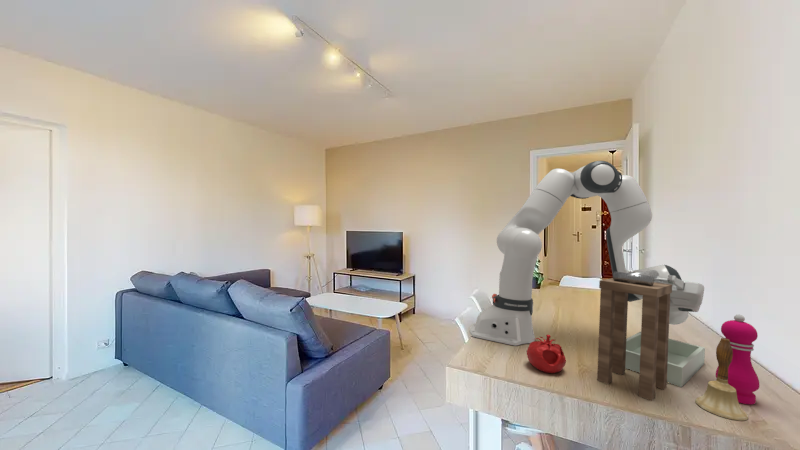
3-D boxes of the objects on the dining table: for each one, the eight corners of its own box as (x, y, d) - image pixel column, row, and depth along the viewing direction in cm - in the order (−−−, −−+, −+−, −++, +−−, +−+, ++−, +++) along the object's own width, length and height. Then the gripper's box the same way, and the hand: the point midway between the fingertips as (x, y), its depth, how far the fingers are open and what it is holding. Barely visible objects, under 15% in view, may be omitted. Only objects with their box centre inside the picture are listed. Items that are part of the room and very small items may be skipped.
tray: (640, 346, 108) (640, 331, 108) (704, 363, 95) (704, 347, 95) (610, 363, 93) (610, 346, 93) (681, 387, 80) (682, 367, 80)
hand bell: (740, 407, 72) (743, 337, 72) (754, 426, 65) (758, 348, 65) (691, 395, 76) (694, 329, 76) (699, 411, 69) (702, 339, 69)
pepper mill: (738, 390, 79) (741, 311, 79) (768, 407, 72) (772, 320, 72) (706, 388, 80) (709, 309, 80) (733, 404, 73) (737, 318, 72)
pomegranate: (518, 363, 91) (520, 331, 91) (543, 358, 95) (545, 327, 95) (547, 379, 82) (549, 343, 82) (574, 373, 86) (575, 339, 86)
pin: (636, 276, 92) (636, 268, 92) (671, 280, 86) (671, 272, 86) (612, 280, 82) (613, 271, 82) (650, 286, 76) (651, 276, 76)
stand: (614, 368, 89) (617, 277, 89) (668, 387, 80) (672, 284, 80) (595, 379, 82) (599, 280, 82) (652, 401, 73) (657, 289, 72)
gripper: (623, 280, 104) (609, 260, 97) (709, 292, 87) (700, 270, 80) (619, 297, 102) (604, 278, 95) (706, 313, 85) (696, 292, 78)
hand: (649, 275), depth 87 cm, fingers open, 8 cm apart
